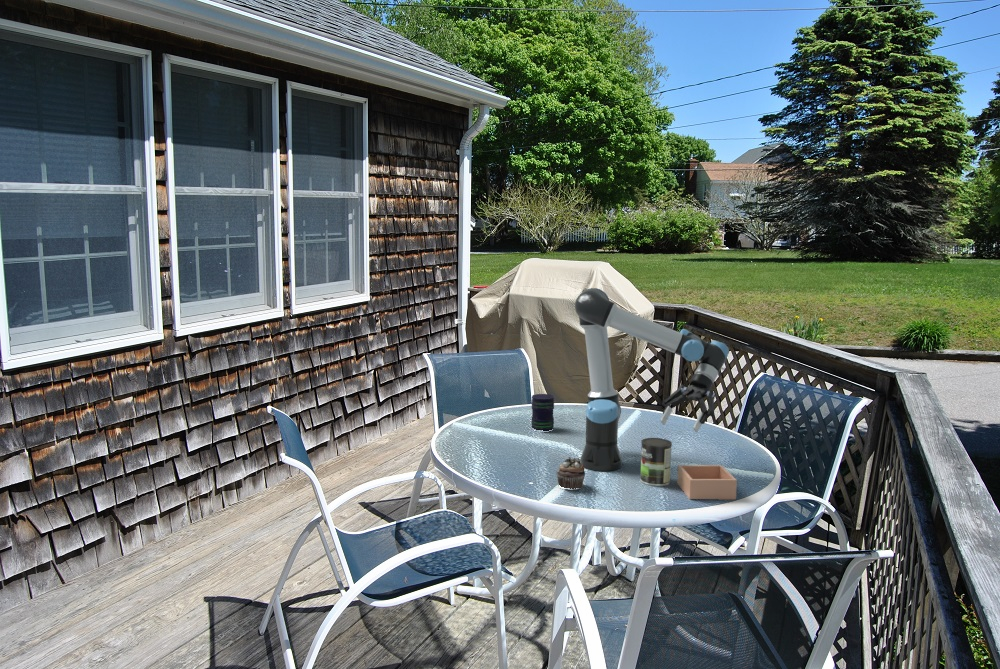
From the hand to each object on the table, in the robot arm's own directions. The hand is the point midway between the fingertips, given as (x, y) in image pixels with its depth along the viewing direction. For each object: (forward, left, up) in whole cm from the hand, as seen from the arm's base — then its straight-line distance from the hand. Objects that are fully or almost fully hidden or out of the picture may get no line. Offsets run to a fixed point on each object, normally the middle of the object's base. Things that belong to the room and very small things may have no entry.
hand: (678, 426), depth 250 cm
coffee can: (-9, -7, -18) cm, 21 cm away
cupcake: (-39, -12, -18) cm, 45 cm away
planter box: (+5, -17, -18) cm, 25 cm away
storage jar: (-43, +60, -18) cm, 76 cm away
